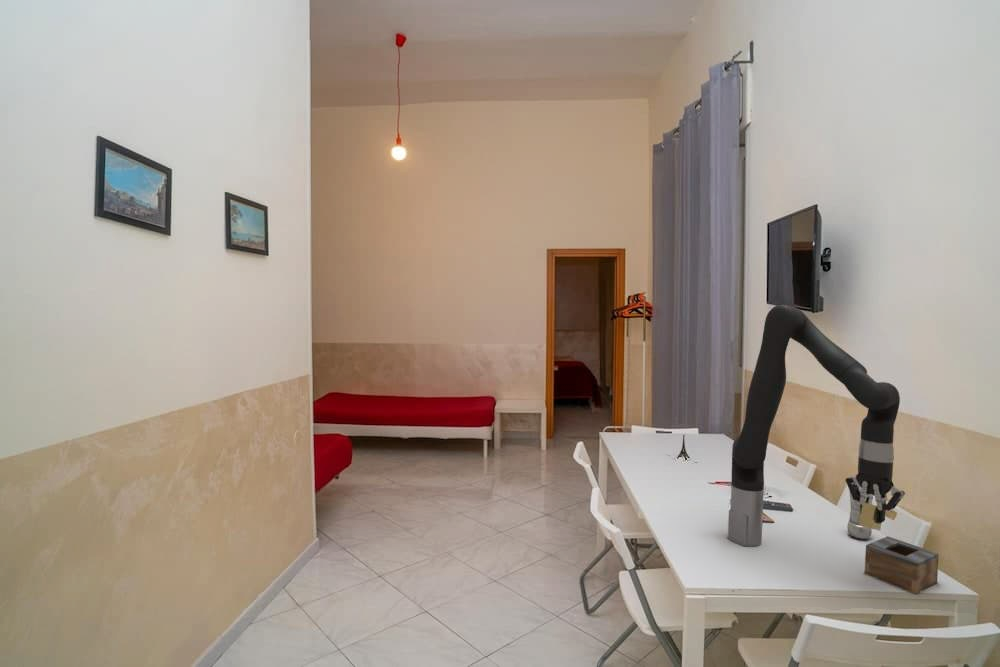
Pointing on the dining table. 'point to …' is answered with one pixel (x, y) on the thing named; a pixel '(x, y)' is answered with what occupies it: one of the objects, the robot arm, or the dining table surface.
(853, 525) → the plastic bottle
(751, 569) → the dining table surface
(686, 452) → the eiffel tower figurine
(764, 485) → the teacup and saucer
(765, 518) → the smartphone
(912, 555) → the box
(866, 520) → the block
